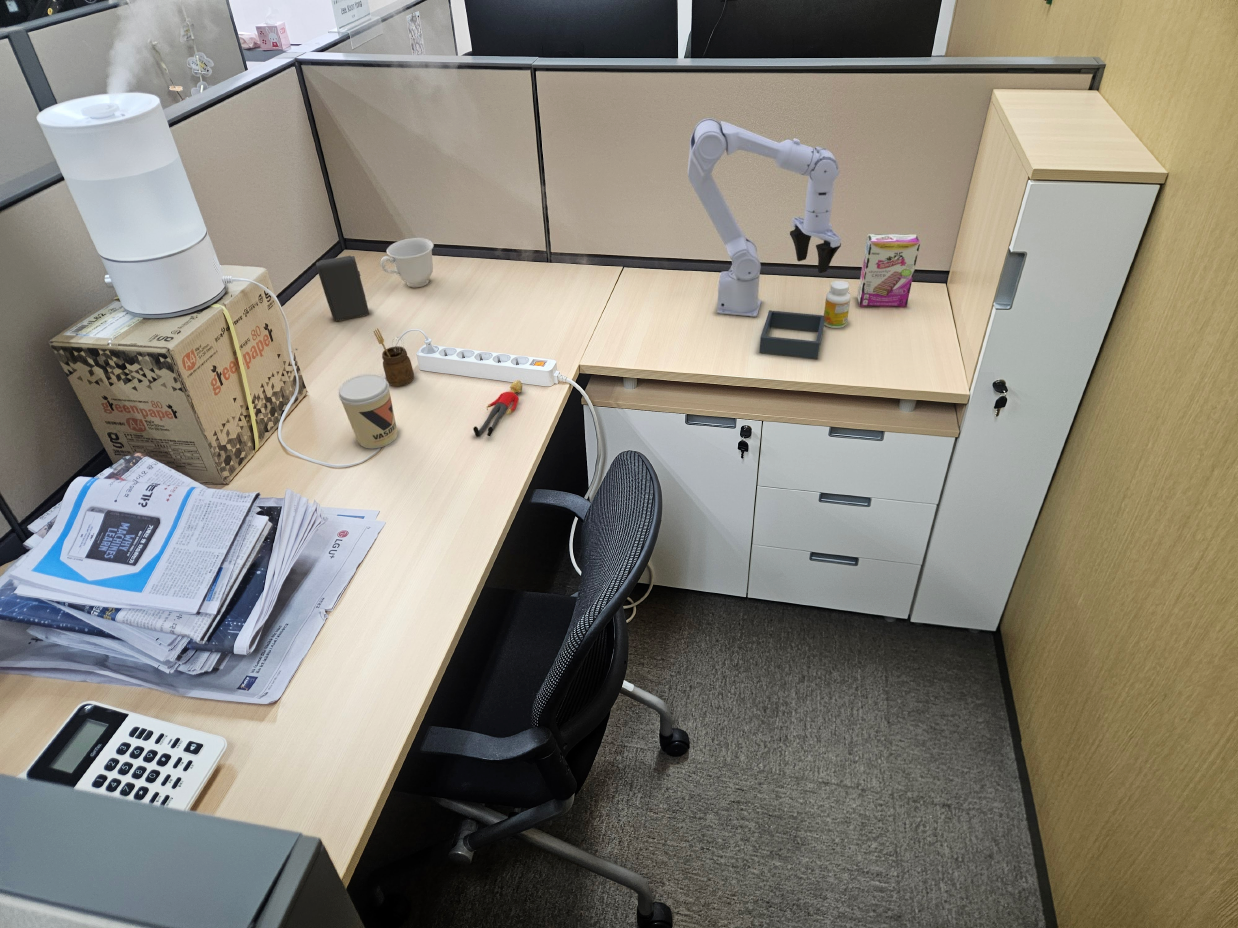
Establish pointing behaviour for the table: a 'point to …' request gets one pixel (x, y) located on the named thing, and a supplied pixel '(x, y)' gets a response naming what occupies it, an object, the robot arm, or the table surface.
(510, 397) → the person figure
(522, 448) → the table surface
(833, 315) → the supplement bottle
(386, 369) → the utensil holder
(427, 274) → the teacup
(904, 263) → the candy bar box
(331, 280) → the dark grey upright block
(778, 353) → the tray
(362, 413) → the beige lidded canister
